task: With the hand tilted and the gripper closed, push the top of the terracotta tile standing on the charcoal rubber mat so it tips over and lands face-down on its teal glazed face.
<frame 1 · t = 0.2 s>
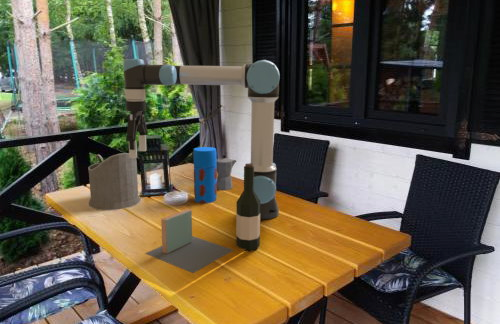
hand: (138, 154, 156), 28 cm above the table, tool pointing down, fingers open, 13 cm apart
tile: (177, 246, 136), point 1 cm above the table, touching mat
mat: (190, 253, 133), on the table
pitcher: (111, 200, 188), on the table
coffeepot: (222, 188, 210), on the table
wine bottle: (247, 246, 139), on the table
thermos: (205, 200, 190), on the table
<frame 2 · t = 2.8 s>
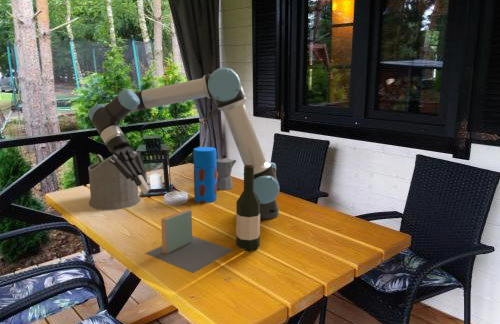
hand: (146, 191, 141), 18 cm above the table, tool tilted 45°, fingers closed
nothing on the table moved.
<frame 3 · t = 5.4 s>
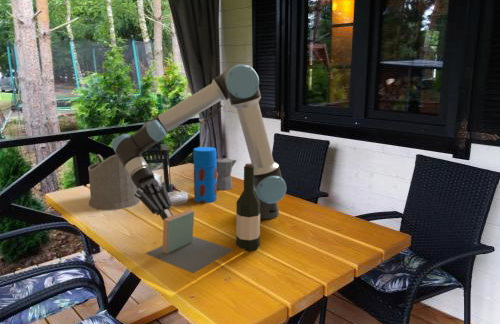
hand: (173, 226, 135), 8 cm above the table, tool tilted 45°, fingers closed
tile: (177, 246, 136), point 1 cm above the table, tilted 6°, touching mat
everything else where it was.
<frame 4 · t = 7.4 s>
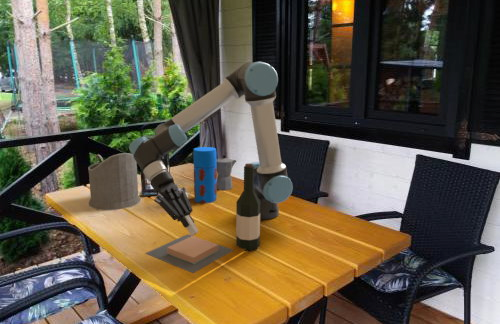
hand: (195, 233, 130), 8 cm above the table, tool tilted 45°, fingers closed
tile: (180, 244, 135), point 2 cm above the table, tilted 90°, touching mat
everything else where it was.
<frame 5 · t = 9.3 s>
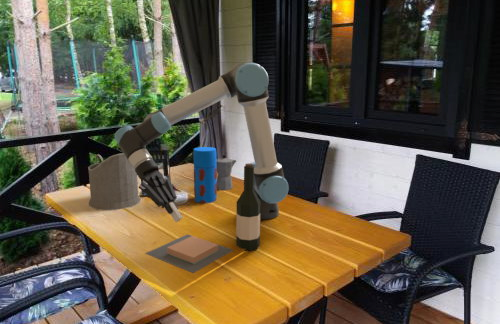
hand: (179, 219, 132), 11 cm above the table, tool tilted 45°, fingers closed
nothing on the table moved.
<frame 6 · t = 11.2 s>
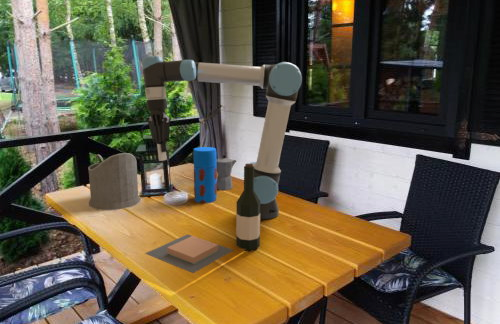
hand: (162, 160, 152), 27 cm above the table, tool pointing down, fingers closed
nothing on the table moved.
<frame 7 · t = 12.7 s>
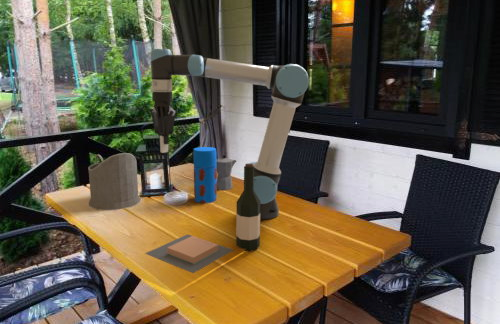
hand: (164, 152, 154), 29 cm above the table, tool pointing down, fingers closed
nothing on the table moved.
at the end: tile tilted 90°; tile 4.6 cm from the mat (horizontally); tile touching mat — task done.
